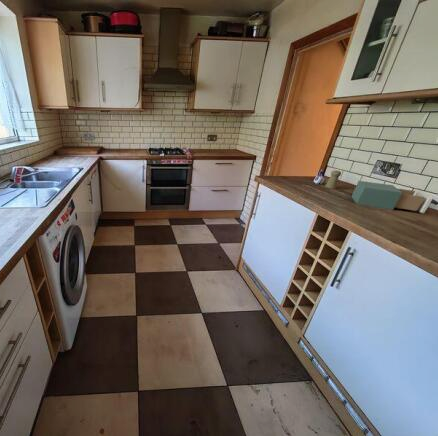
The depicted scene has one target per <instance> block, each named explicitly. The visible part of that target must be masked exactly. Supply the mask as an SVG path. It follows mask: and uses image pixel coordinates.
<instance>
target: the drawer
mask: <svg viewBox="0 0 438 436" xmlns="http://www.w3.org/2000/svg"><path fill="white" fill-rule="evenodd" d="M396 188H397V187H396ZM397 189H398V190H400V191H401V192H402V194H401V196H400V198H399V200H398V201H397V203H396V205H395V207H394V209H402V210H407V211H414V212H419V213H420V214H425V213H426V211H427V209H428V207H429V206H430V204H433V205H434V206H438V201H437V200H436V199H434V198H433V197H432V196H430V195H428V194H426V193H425V192H424V191H422V190H417V191H416V190H411V189H405V188H397ZM414 194H415V195H414Z"/></svg>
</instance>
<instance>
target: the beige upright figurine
mask: <svg viewBox="0 0 438 436" xmlns="http://www.w3.org/2000/svg"><path fill="white" fill-rule="evenodd" d="M341 175H342V171H340V170H337V169H334V170H332V171H331V172H330V177H329V178H328V180H327V181H326V184H325V186H324V187H325V188H328V189H333V190H334V189H337V187H338V183H339V178H340V176H341Z"/></svg>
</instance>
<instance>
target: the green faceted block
mask: <svg viewBox="0 0 438 436" xmlns="http://www.w3.org/2000/svg"><path fill="white" fill-rule="evenodd" d="M398 189H399V188H398ZM398 189H397V187H396V186H394V185H393V184H387V183H379V182H372V181H363V180H358V181H357V183H356V186H355V187H354V189H353V192H352V195H351V198H352V199H353V201H354V203H355V204H356V205H360V206H365V207H371V208H372V207H373V208H377V209H384V210H390V211H394V209H395V205H396V203H397V201H398V200H399V198H400V196H401V194H402V192H401V191H400V190H398Z"/></svg>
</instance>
